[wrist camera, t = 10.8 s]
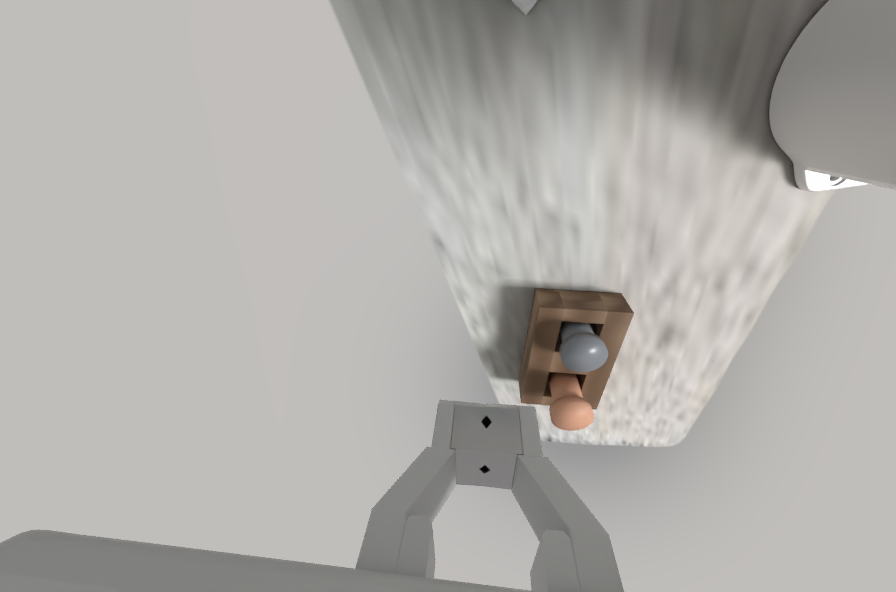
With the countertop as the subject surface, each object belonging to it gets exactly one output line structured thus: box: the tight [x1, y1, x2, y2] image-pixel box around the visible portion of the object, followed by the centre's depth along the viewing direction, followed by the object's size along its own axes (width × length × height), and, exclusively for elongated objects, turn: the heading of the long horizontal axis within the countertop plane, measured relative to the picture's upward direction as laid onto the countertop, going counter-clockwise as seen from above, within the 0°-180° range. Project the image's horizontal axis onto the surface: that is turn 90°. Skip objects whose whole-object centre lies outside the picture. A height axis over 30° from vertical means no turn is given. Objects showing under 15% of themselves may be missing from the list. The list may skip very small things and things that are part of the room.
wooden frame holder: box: [519, 288, 634, 409], centre depth 42 cm, size 10×16×4 cm, turn 179°
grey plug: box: [559, 321, 608, 372], centre depth 38 cm, size 5×5×6 cm
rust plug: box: [548, 372, 594, 430], centre depth 41 cm, size 5×5×6 cm
